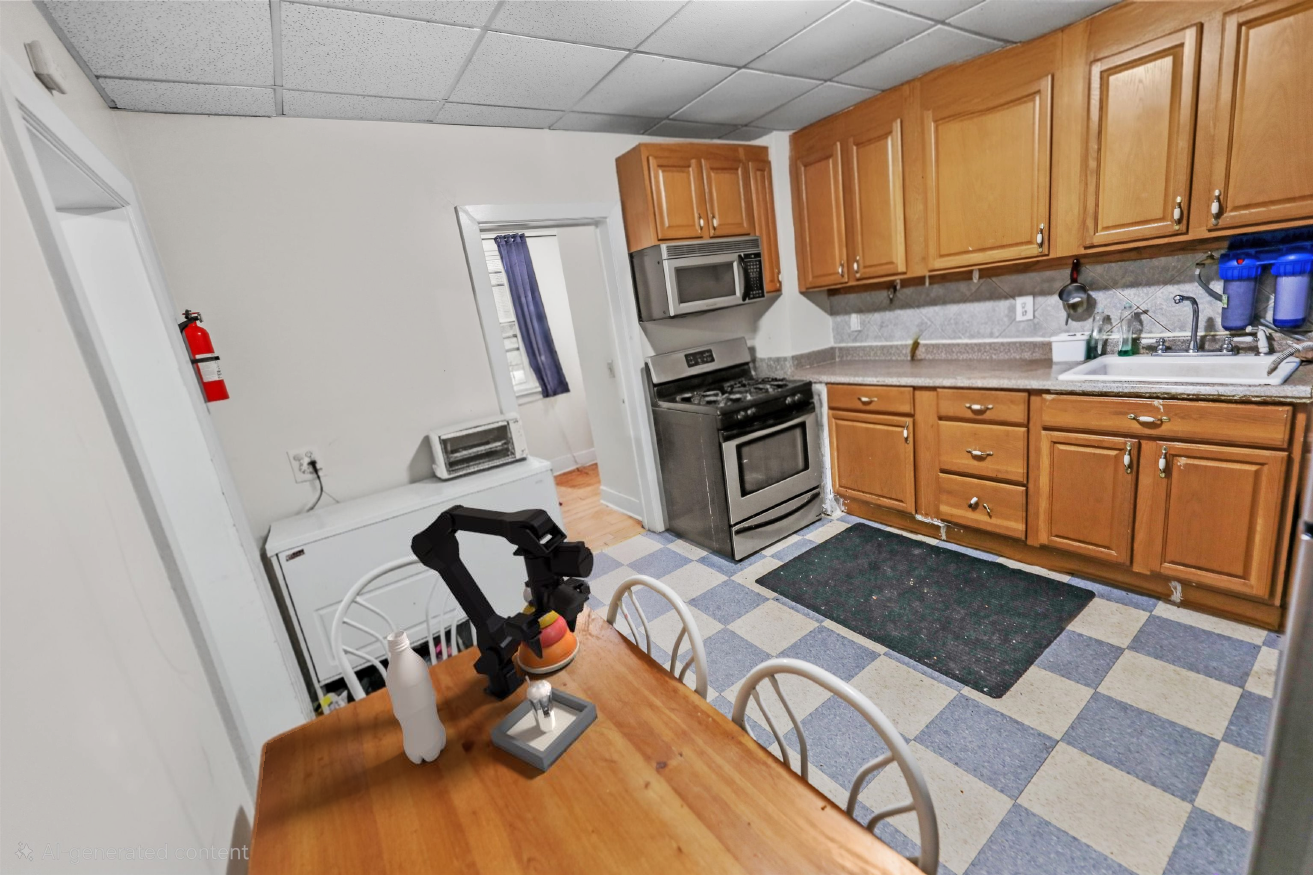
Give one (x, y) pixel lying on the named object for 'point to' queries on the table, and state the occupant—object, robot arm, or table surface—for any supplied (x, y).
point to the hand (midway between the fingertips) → (556, 644)
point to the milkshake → (541, 704)
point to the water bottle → (413, 700)
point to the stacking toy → (548, 643)
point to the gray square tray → (544, 748)
